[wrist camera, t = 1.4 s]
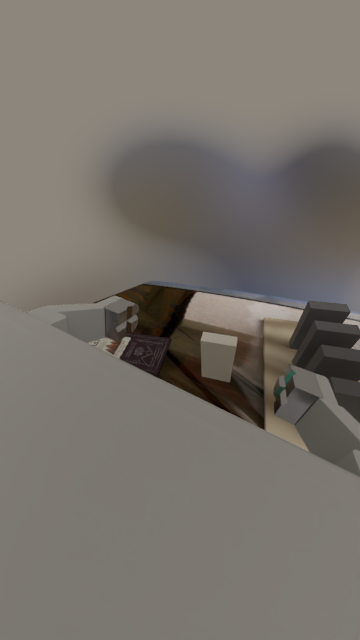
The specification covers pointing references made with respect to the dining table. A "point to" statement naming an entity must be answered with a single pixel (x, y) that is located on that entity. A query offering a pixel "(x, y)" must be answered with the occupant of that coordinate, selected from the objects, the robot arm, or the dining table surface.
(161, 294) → the dining table surface
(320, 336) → the domino
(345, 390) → the domino
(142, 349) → the chocolate bar
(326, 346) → the domino
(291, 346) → the domino
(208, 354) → the domino
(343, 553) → the robot arm
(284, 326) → the birch board
